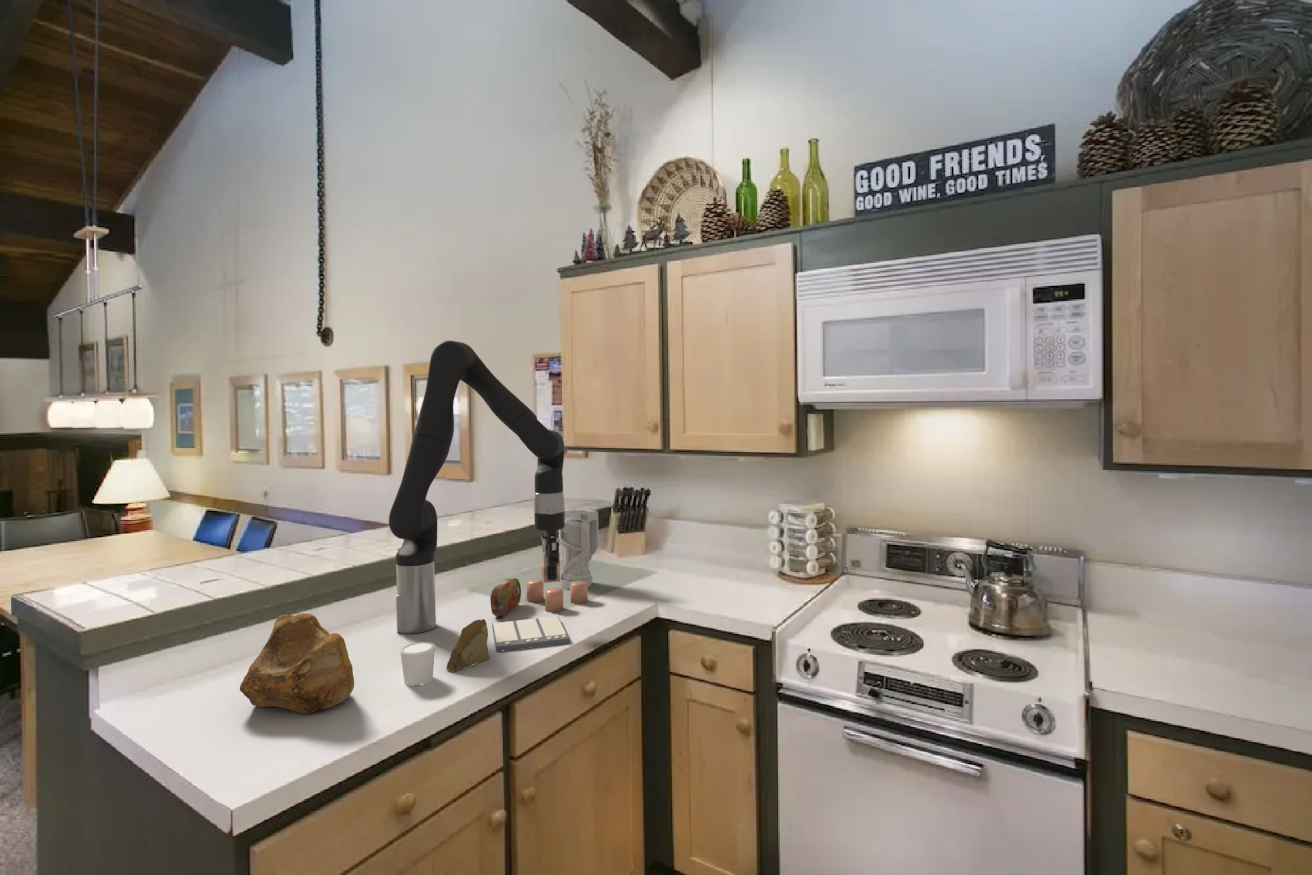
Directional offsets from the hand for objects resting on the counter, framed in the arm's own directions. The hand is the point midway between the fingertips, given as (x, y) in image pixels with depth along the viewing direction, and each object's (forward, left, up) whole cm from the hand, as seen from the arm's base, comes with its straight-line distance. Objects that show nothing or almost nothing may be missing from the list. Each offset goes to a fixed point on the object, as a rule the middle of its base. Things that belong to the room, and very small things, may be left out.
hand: (550, 576), depth 162 cm
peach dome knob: (+3, +17, -14) cm, 22 cm away
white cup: (-31, -20, -14) cm, 39 cm away
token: (0, 0, -1) cm, 1 cm away
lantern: (+14, +38, -14) cm, 43 cm away
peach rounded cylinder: (-1, +28, -14) cm, 31 cm away
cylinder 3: (+11, +22, -14) cm, 28 cm away
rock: (-21, -14, -14) cm, 29 cm away
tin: (-10, +20, -14) cm, 26 cm away
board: (-6, -1, -14) cm, 15 cm away
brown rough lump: (-54, -22, -14) cm, 60 cm away
